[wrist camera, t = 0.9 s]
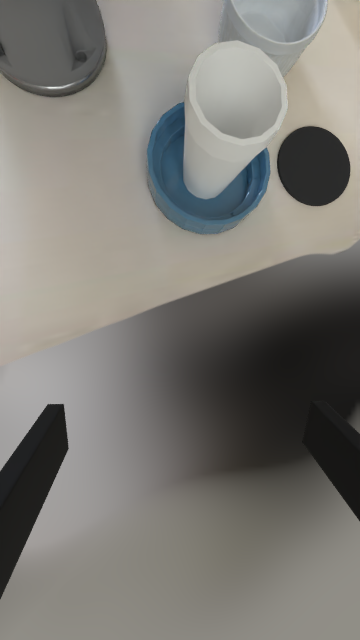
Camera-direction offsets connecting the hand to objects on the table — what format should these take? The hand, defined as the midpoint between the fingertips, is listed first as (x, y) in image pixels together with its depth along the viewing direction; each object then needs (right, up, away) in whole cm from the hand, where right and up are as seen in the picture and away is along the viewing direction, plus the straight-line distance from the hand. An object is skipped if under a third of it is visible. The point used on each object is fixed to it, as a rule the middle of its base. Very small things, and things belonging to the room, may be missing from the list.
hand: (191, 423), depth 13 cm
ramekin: (+10, +45, +24) cm, 52 cm away
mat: (+20, +29, +25) cm, 43 cm away
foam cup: (+3, +26, +22) cm, 34 cm away
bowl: (+3, +26, +22) cm, 34 cm away
